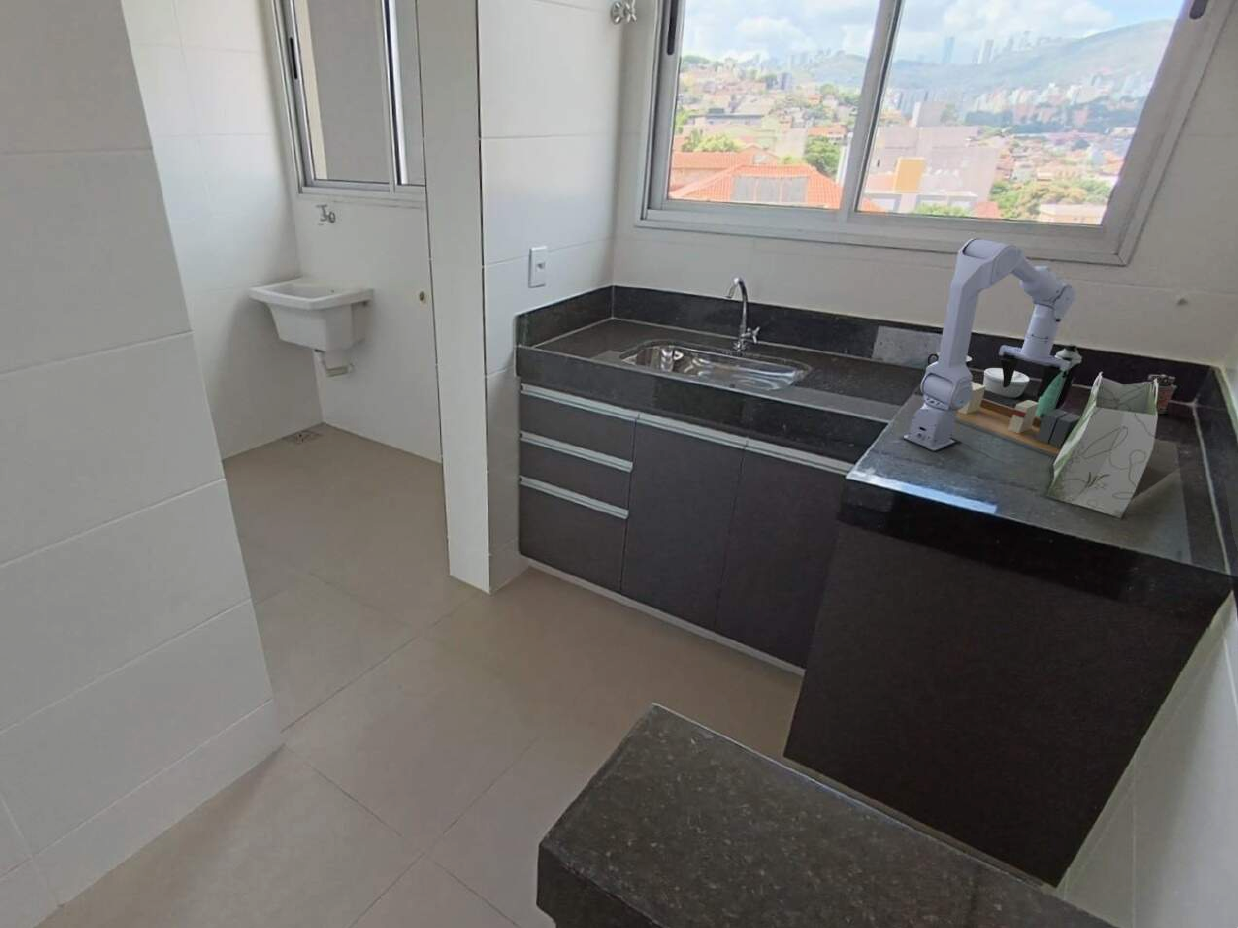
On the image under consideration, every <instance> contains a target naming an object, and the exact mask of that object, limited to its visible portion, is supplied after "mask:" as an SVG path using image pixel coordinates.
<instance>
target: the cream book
mask: <svg viewBox="0 0 1238 928" xmlns="http://www.w3.org/2000/svg"><path fill="white" fill-rule="evenodd" d="M1039 404H1040V403H1038V402H1036V401H1034V400H1030V399H1027V400H1024V401H1021V402H1019V403H1017V404H1015V406H1014V409H1015V410H1014V412H1013V416H1012V419H1011V422H1010V425H1009V427H1008V430H1010V431H1013V432H1016V433H1018V434H1019V433H1021V432H1023V431H1026V430H1028V429H1030V428H1031V426H1032V423H1033V420H1034V418H1035V415H1036V412H1037V409H1038V406H1039Z"/></svg>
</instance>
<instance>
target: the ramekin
mask: <svg viewBox="0 0 1238 928" xmlns="http://www.w3.org/2000/svg"><path fill="white" fill-rule="evenodd" d="M1030 380H1031V378H1030V377H1029V376H1027V375H1026V374H1024V373H1022V372H1019V371H1016V370H1014V372H1013V376H1012V380H1011V383H1010V385H1009V386H1008V387H1006V388H1005V387H1003V381H1004V376H1003V368H1002V367H1001V368H1000V367H989V368H986V369H985V370H984V371H983V383H982V385H984V386H986V388H985V391H988V392H990V393H993V394H997V395H1000V396H1002V397H1004V398H1005V397H1006V398H1009V399H1017V398H1019V397H1020V396H1022V394H1023V392H1024V390H1025V389H1026V387H1027V386H1028V384H1030Z"/></svg>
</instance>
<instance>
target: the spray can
mask: <svg viewBox="0 0 1238 928" xmlns="http://www.w3.org/2000/svg"><path fill="white" fill-rule="evenodd" d="M1078 352H1079V351H1078V350H1077V345H1076V344H1068V345H1067V347H1065V348H1063V350H1061V351H1056V353H1055V355H1054V356H1055V357H1057V358H1060V359H1063V360H1067V361H1070V365H1069V367H1068V370H1066V371H1062V372H1061V373H1060V374H1059V375H1058V376H1057V377H1056V378H1055V379H1054V380H1053V381H1052V382H1051V384H1050V385H1049V386H1048V388H1047V389H1046V391H1045V393H1044V394H1043V396H1041V397H1039V399H1038V402H1037V403H1040V404H1039V406H1038V409H1037V412H1036V415H1035V416H1038V417H1041V418H1044V416H1045V414H1046V413H1049V412H1051V411H1053V410H1056V409H1059V410H1062V411H1064V407H1065V405H1066V403H1067V400H1068V396H1069V394H1070V391H1071V389H1072V386H1073V384H1074V381H1075V378H1076V376H1077V373H1078V370H1079V367H1080V365H1081V363H1082V358H1083V356H1082V355H1080V354H1079V353H1078Z"/></svg>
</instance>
